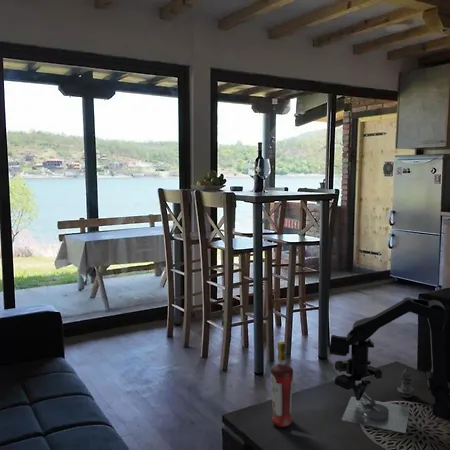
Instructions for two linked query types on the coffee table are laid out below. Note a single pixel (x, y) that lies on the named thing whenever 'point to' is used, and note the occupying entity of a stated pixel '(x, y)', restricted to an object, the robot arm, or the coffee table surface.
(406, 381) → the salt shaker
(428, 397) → the coffee table surface
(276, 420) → the liquor
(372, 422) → the panel
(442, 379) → the robot arm
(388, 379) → the coffee table surface
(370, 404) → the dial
